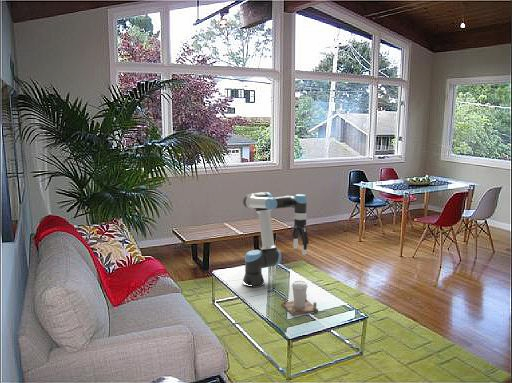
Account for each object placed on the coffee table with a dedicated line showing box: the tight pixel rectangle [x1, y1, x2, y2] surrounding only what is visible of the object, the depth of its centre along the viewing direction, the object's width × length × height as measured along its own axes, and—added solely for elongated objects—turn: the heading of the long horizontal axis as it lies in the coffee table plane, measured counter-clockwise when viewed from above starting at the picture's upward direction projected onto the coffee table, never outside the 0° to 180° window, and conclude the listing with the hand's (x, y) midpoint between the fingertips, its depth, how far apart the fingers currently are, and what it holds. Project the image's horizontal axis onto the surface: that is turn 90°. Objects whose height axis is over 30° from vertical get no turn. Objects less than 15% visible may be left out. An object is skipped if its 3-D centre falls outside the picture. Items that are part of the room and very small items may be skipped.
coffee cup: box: [291, 280, 308, 308], centre depth 260 cm, size 10×10×15 cm
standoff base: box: [281, 293, 319, 316], centre depth 261 cm, size 17×17×5 cm
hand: (299, 251), depth 272 cm, fingers open, 13 cm apart
